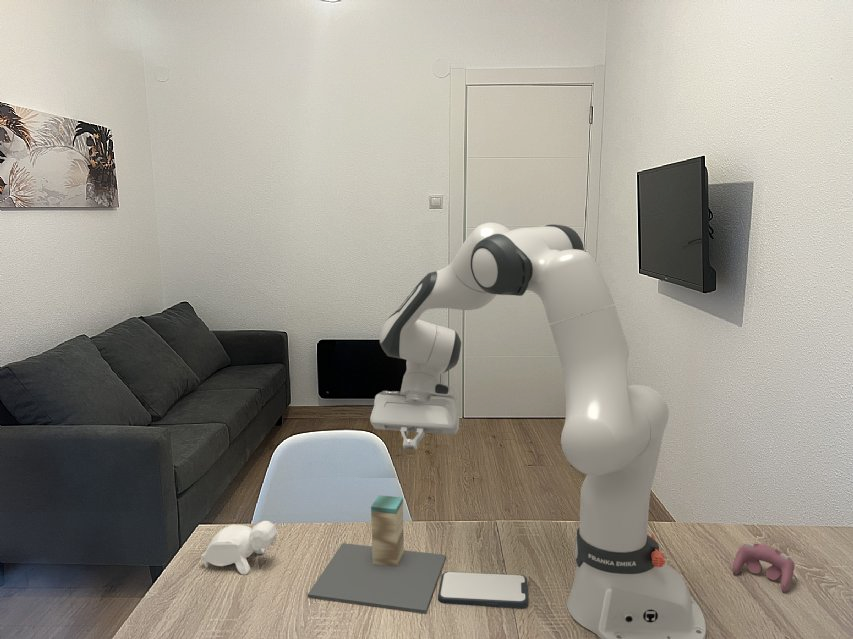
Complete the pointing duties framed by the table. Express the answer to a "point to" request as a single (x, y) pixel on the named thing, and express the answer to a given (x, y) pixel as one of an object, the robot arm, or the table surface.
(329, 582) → the rubber mat
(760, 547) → the video game controller
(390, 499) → the birch block
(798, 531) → the table surface
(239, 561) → the white tortoise figurine
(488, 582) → the smartphone
